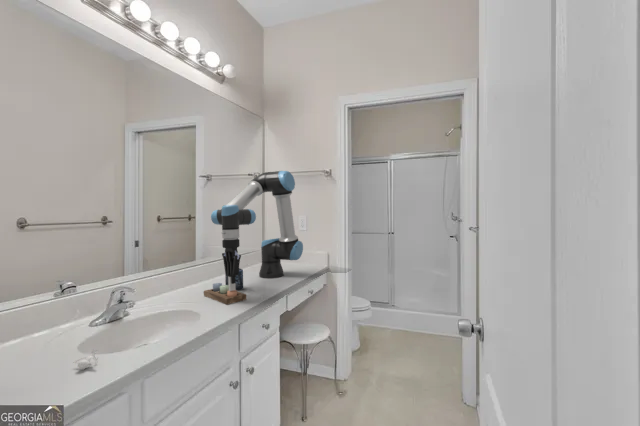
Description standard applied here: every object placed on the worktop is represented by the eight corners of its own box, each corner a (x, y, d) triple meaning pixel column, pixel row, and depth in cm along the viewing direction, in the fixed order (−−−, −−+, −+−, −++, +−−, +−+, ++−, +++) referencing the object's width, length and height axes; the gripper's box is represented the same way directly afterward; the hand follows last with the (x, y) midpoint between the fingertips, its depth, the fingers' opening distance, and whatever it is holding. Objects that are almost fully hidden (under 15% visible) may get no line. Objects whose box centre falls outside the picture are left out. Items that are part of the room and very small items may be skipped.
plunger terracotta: (234, 298, 147) (233, 289, 147) (238, 299, 144) (238, 290, 144) (225, 300, 144) (225, 291, 144) (230, 301, 141) (230, 292, 141)
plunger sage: (226, 292, 152) (226, 284, 152) (230, 294, 149) (230, 285, 149) (218, 294, 149) (218, 286, 149) (222, 296, 146) (222, 287, 146)
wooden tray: (222, 291, 160) (222, 286, 160) (246, 299, 144) (246, 294, 144) (204, 295, 153) (203, 290, 153) (226, 304, 137) (226, 298, 137)
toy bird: (64, 369, 81) (70, 349, 83) (80, 367, 85) (86, 348, 87) (89, 372, 79) (95, 351, 81) (105, 369, 84) (110, 350, 85)
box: (228, 291, 160) (228, 271, 160) (225, 289, 164) (224, 269, 164) (243, 289, 164) (243, 269, 164) (240, 287, 169) (239, 267, 169)
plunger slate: (219, 290, 157) (219, 282, 157) (223, 291, 154) (223, 283, 154) (211, 292, 154) (211, 284, 154) (215, 293, 151) (215, 285, 151)
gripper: (216, 238, 145) (217, 289, 146) (230, 240, 136) (232, 294, 137) (231, 237, 151) (232, 286, 151) (245, 238, 142) (247, 291, 142)
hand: (232, 290), depth 144 cm, fingers closed
